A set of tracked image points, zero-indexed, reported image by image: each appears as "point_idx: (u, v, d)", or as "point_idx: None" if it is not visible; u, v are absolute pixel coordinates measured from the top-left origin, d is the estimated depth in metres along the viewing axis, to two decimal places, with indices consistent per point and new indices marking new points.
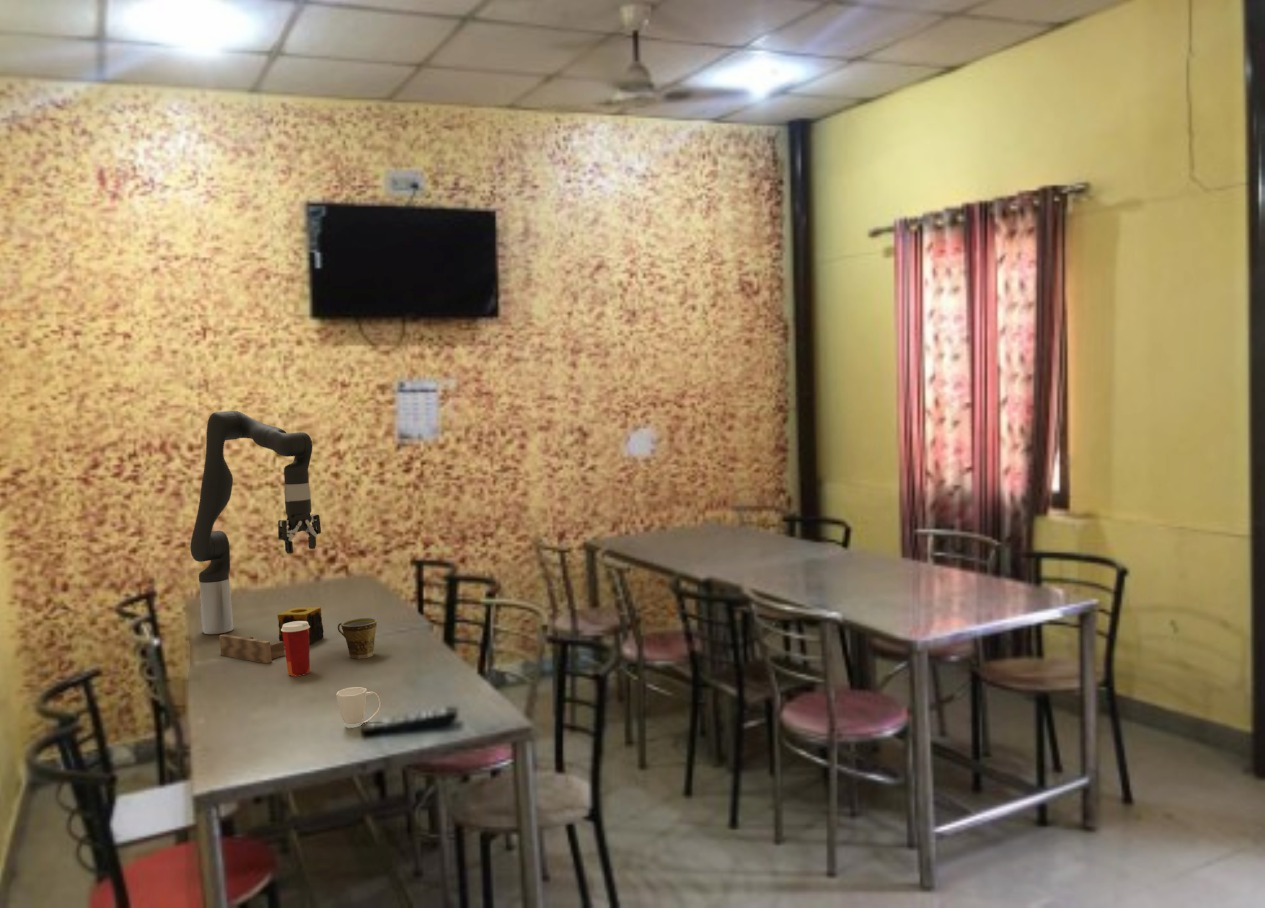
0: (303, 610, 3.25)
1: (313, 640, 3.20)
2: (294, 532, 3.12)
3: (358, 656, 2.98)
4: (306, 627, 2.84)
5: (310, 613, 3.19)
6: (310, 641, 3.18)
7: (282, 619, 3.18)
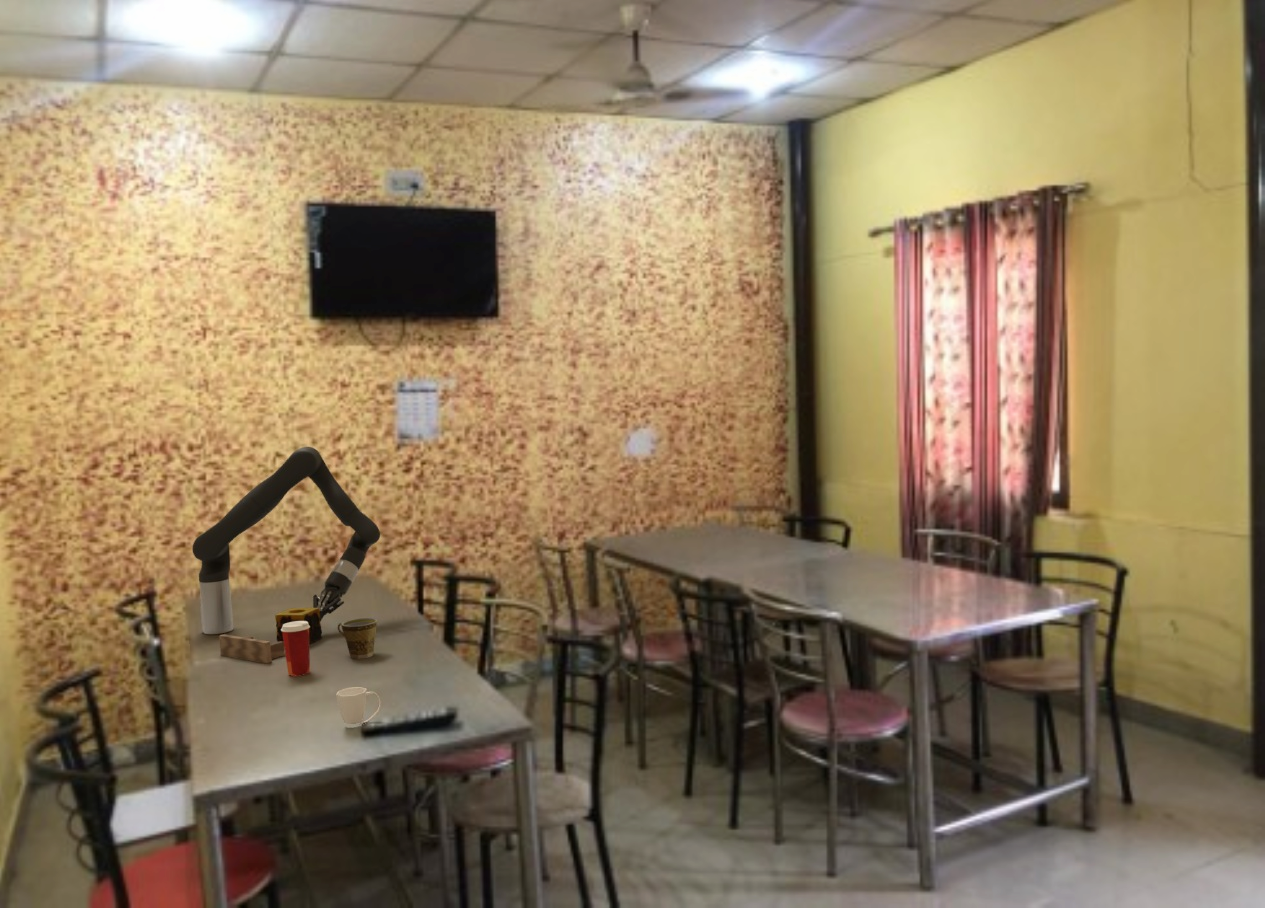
0: (301, 610, 3.24)
1: (310, 641, 3.19)
2: None
3: (358, 656, 2.98)
4: (306, 627, 2.84)
5: (307, 614, 3.18)
6: None
7: (279, 620, 3.18)
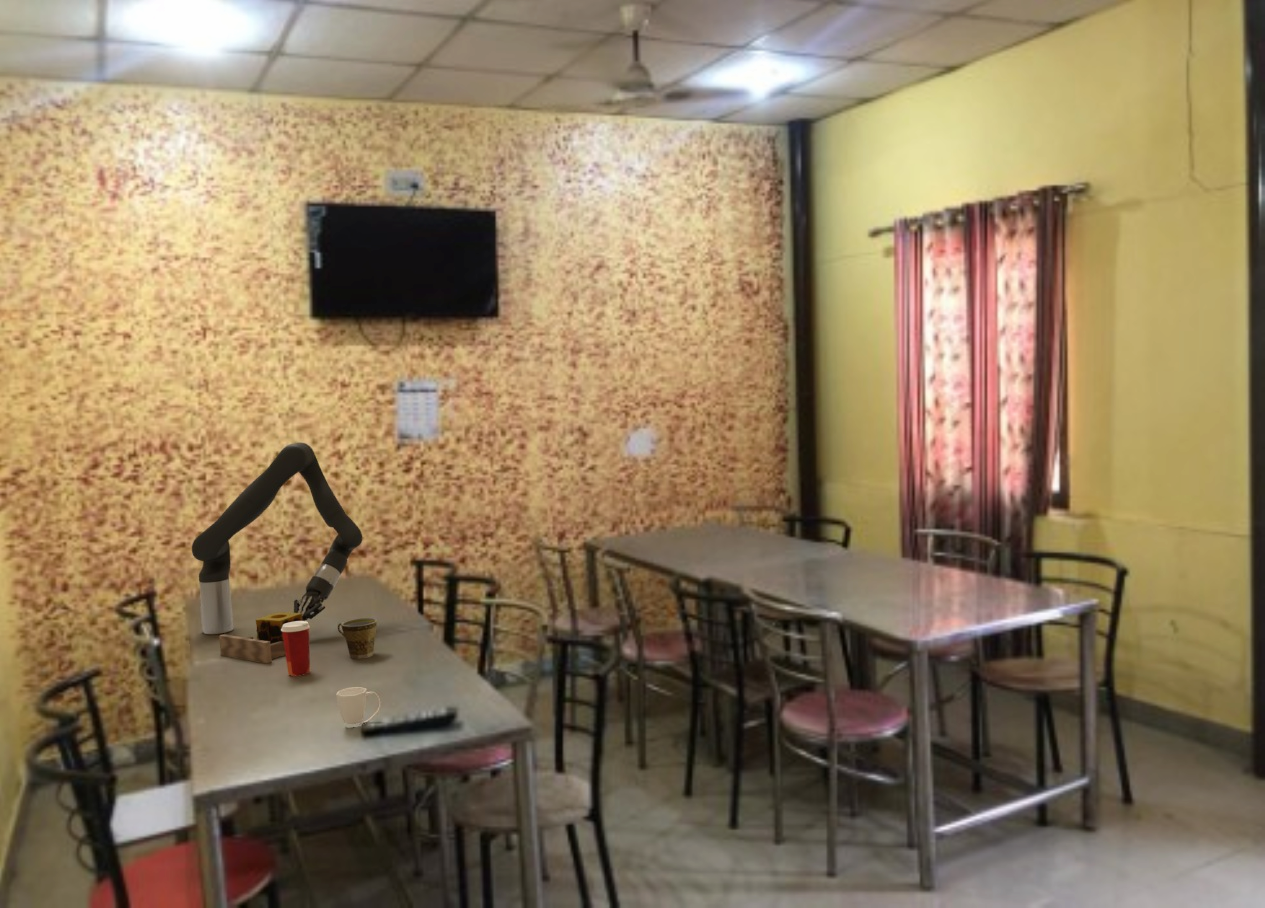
0: (284, 615, 3.18)
1: None
2: None
3: (358, 656, 2.98)
4: (306, 627, 2.84)
5: (287, 619, 3.12)
6: None
7: (260, 625, 3.12)
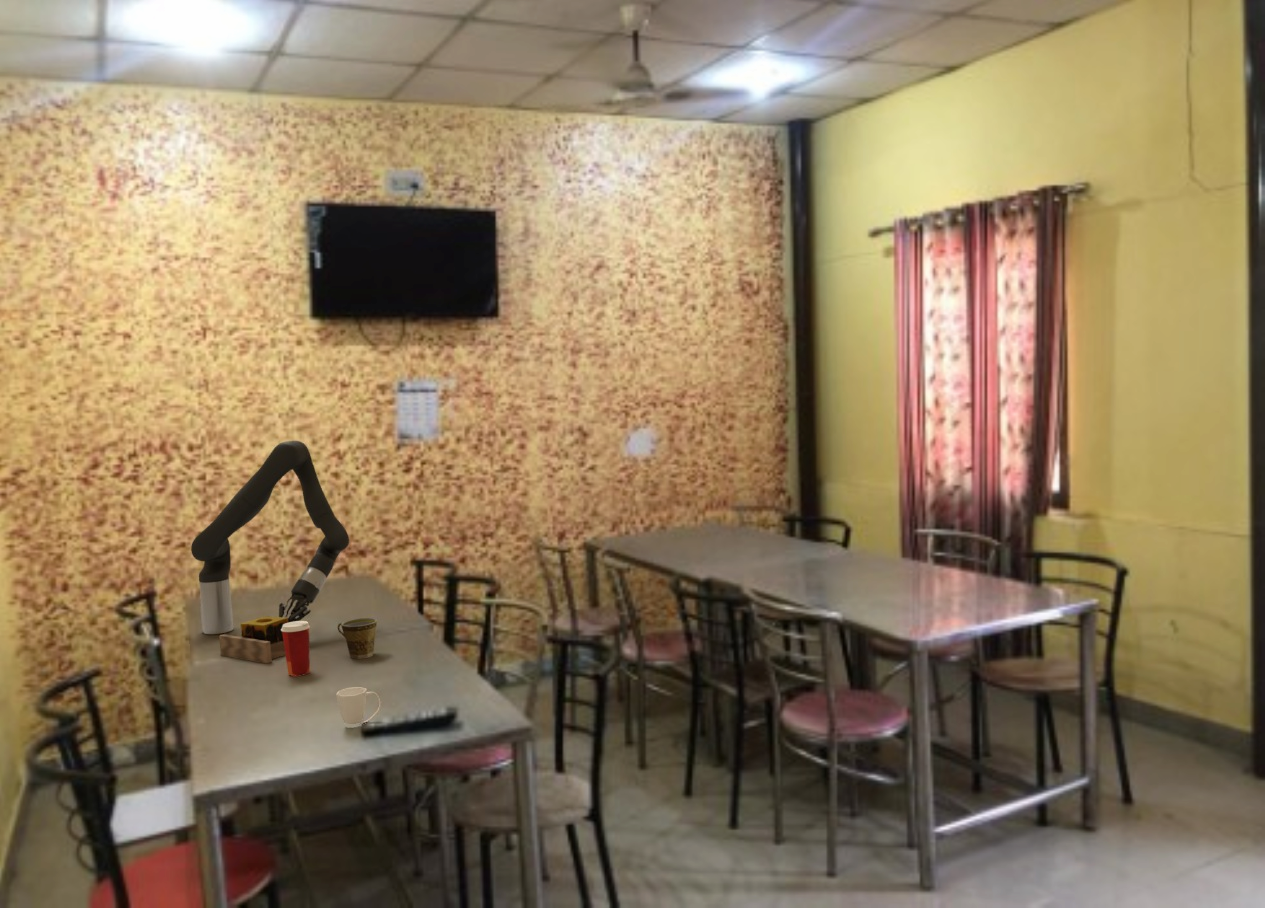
0: (270, 620, 3.13)
1: None
2: None
3: (358, 656, 2.98)
4: (306, 627, 2.84)
5: (271, 624, 3.07)
6: None
7: (244, 629, 3.08)
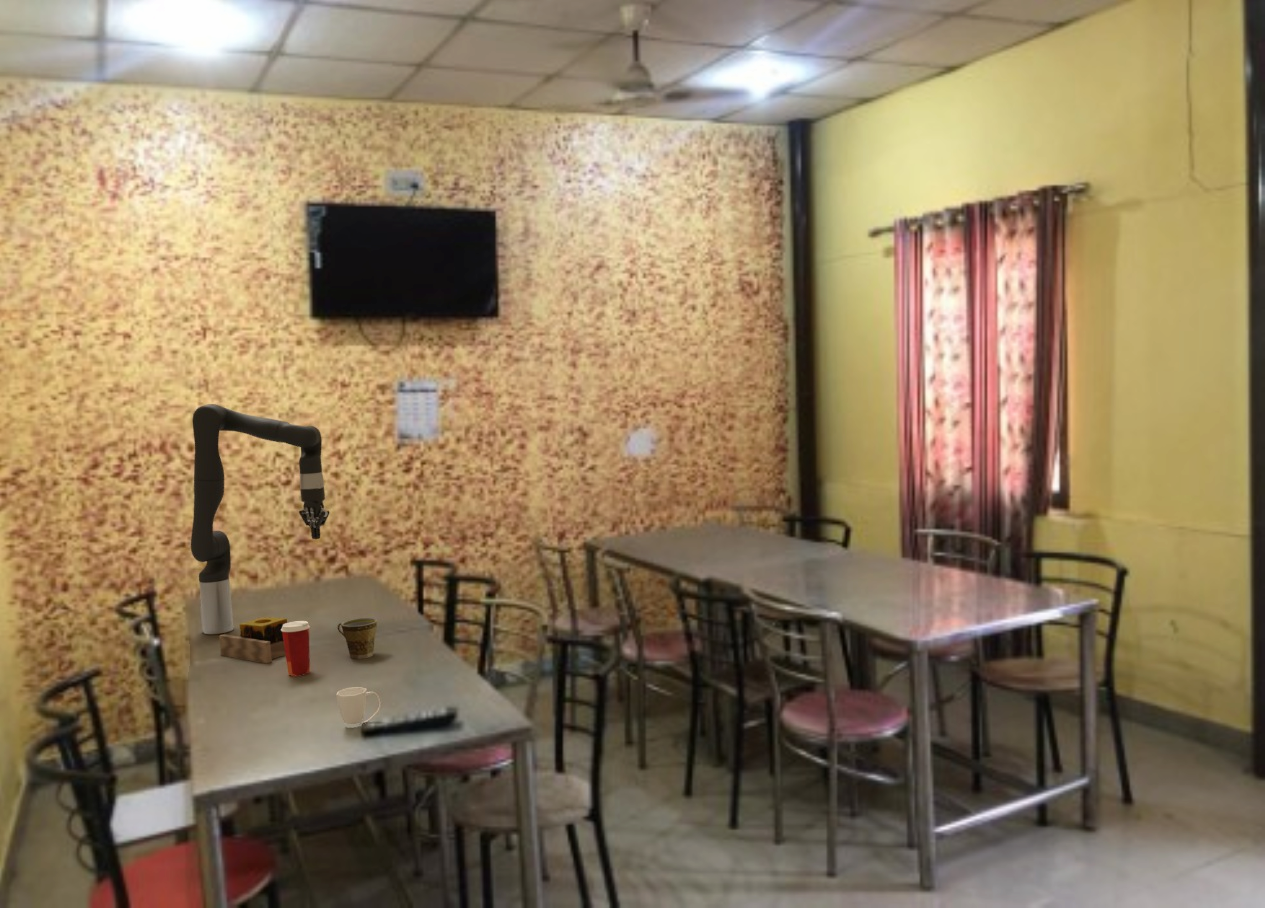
0: (269, 620, 3.12)
1: None
2: None
3: (358, 656, 2.98)
4: (306, 627, 2.84)
5: (270, 625, 3.06)
6: None
7: (243, 629, 3.08)
